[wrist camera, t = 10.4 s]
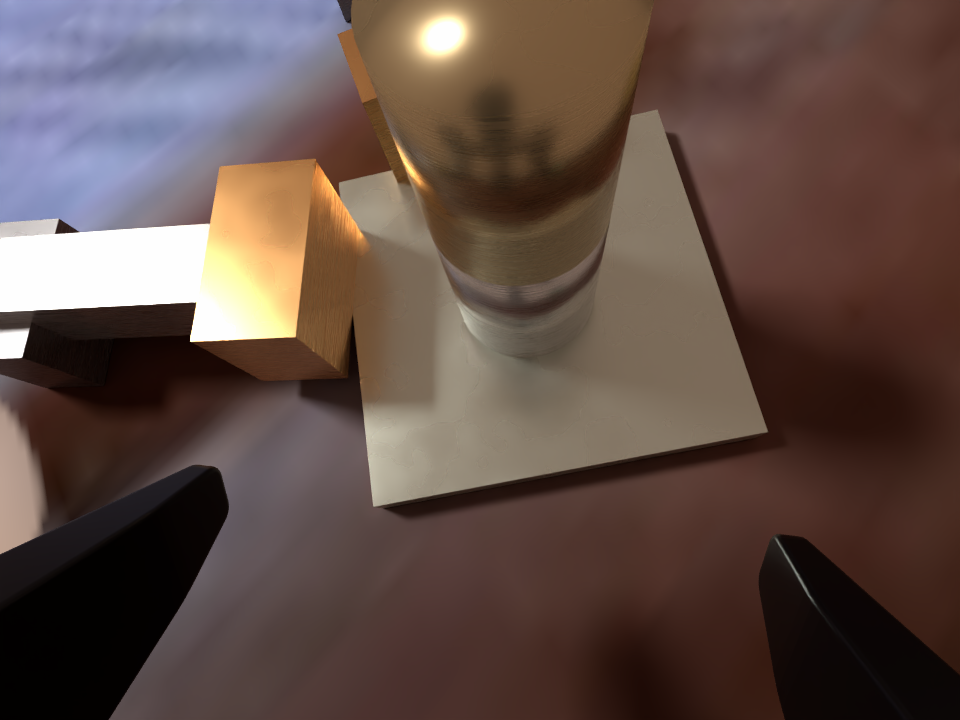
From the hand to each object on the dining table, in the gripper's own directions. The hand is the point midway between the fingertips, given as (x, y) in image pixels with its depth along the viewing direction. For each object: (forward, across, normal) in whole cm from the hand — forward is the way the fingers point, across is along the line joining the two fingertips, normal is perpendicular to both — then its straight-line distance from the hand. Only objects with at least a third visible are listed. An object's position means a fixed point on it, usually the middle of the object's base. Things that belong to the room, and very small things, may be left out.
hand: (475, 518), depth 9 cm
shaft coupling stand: (+15, +8, -2) cm, 17 cm away
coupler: (+11, 0, 0) cm, 11 cm away
